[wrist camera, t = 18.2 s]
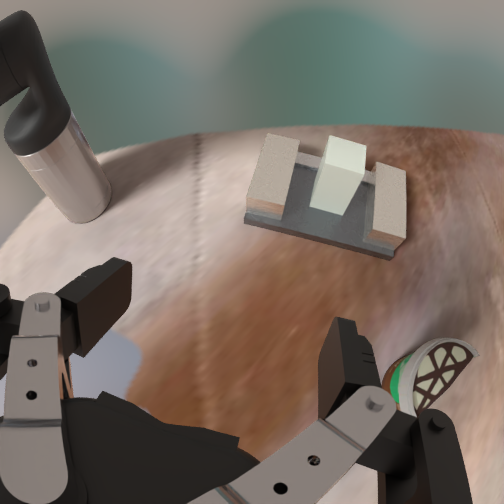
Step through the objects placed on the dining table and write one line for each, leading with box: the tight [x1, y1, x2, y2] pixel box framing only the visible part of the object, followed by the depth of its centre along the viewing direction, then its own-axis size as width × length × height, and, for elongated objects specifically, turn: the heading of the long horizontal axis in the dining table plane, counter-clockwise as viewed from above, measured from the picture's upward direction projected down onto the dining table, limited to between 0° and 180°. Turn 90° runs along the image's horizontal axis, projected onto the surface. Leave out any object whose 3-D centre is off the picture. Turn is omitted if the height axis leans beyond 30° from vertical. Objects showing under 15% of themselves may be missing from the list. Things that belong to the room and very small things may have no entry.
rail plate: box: [244, 133, 406, 261], centre depth 45 cm, size 22×14×6 cm, turn 76°
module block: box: [309, 135, 366, 216], centre depth 42 cm, size 5×5×10 cm
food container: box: [381, 338, 479, 417], centre depth 33 cm, size 12×6×10 cm, turn 123°
